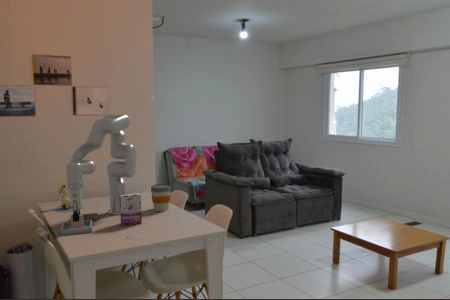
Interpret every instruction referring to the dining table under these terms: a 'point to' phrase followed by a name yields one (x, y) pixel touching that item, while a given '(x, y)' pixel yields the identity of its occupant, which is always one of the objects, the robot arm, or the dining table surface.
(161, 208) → the reusable coffee cup
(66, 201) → the stuffed giraffe
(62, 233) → the tray
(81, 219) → the tan rectangular block
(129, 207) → the candy bar box
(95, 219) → the brown piece
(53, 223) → the dining table surface
